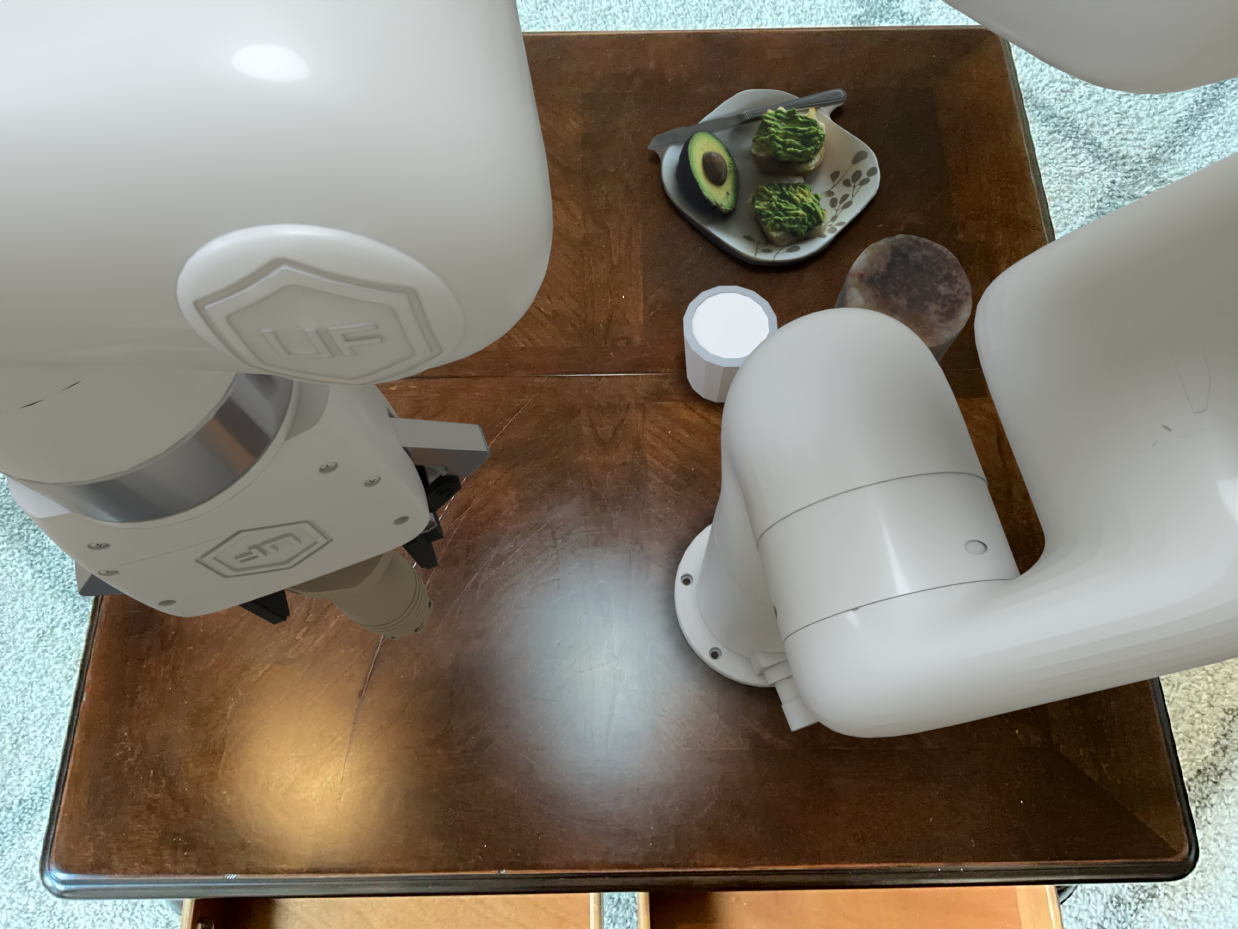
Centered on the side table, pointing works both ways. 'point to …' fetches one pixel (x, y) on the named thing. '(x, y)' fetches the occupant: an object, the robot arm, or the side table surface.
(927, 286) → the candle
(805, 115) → the avocado toast plate
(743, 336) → the white short cylinder
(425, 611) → the handle
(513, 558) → the side table surface
